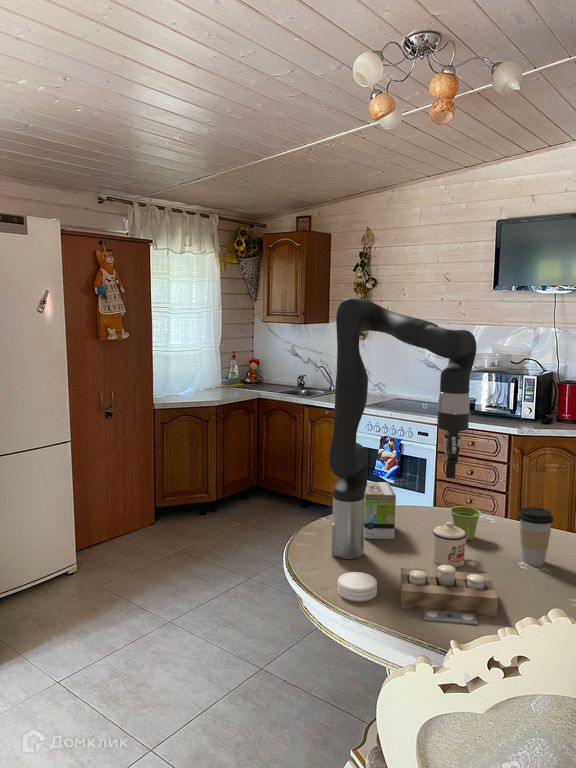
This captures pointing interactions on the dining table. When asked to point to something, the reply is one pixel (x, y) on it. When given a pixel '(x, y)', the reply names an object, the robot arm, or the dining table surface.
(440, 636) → the dining table surface
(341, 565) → the dining table surface
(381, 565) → the dining table surface
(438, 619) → the card
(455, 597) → the button board
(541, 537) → the coffee cup
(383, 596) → the dining table surface
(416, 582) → the left button
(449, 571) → the middle button
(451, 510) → the plant pot
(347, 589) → the coaster
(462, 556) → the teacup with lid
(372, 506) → the tea box
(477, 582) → the right button
